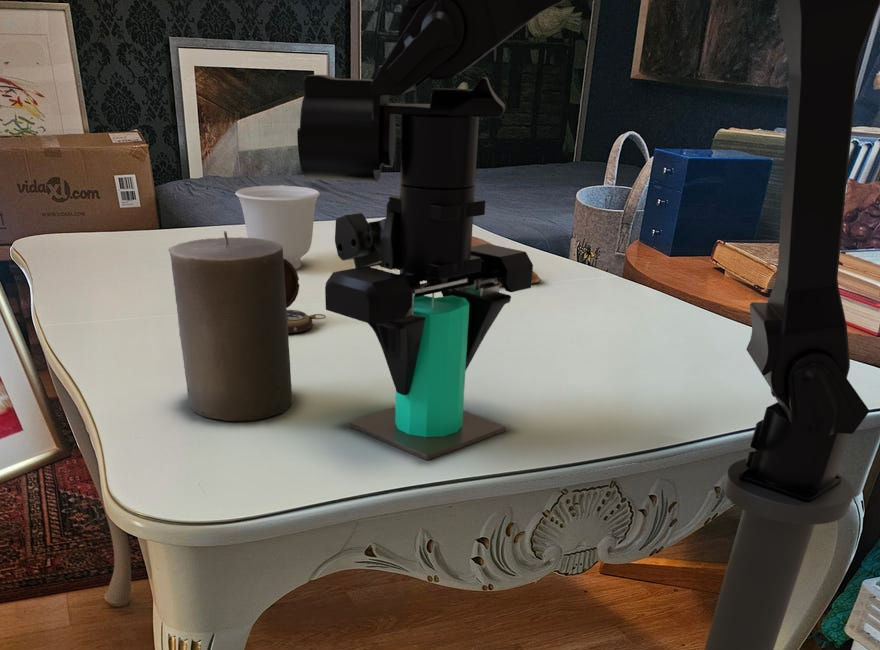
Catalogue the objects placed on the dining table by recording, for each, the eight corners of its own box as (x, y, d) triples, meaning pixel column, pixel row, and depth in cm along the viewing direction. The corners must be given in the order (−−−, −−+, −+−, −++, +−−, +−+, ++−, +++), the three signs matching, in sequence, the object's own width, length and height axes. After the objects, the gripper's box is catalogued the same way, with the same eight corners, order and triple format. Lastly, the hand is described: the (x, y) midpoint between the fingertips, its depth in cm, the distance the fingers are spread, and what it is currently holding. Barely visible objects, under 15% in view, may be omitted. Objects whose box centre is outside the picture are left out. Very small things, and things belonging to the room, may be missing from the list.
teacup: (324, 254, 136) (322, 183, 131) (320, 276, 124) (317, 198, 119) (248, 253, 136) (242, 182, 130) (236, 274, 124) (229, 197, 118)
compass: (270, 337, 99) (266, 269, 95) (250, 319, 105) (245, 255, 101) (335, 330, 102) (333, 264, 98) (311, 313, 108) (309, 250, 104)
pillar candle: (297, 419, 79) (289, 240, 70) (188, 425, 77) (165, 243, 68) (286, 383, 86) (277, 219, 78) (186, 388, 85) (166, 221, 76)
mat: (506, 430, 77) (506, 426, 77) (427, 460, 72) (427, 456, 71) (427, 401, 83) (427, 397, 83) (348, 426, 77) (348, 422, 77)
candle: (474, 422, 78) (484, 281, 71) (437, 442, 74) (444, 295, 67) (419, 407, 80) (423, 270, 74) (381, 426, 76) (382, 283, 70)
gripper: (446, 164, 76) (438, 344, 85) (275, 182, 65) (287, 385, 74) (545, 179, 70) (526, 371, 79) (374, 201, 59) (374, 421, 68)
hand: (429, 385), depth 75 cm, fingers closed on candle, 6 cm apart
